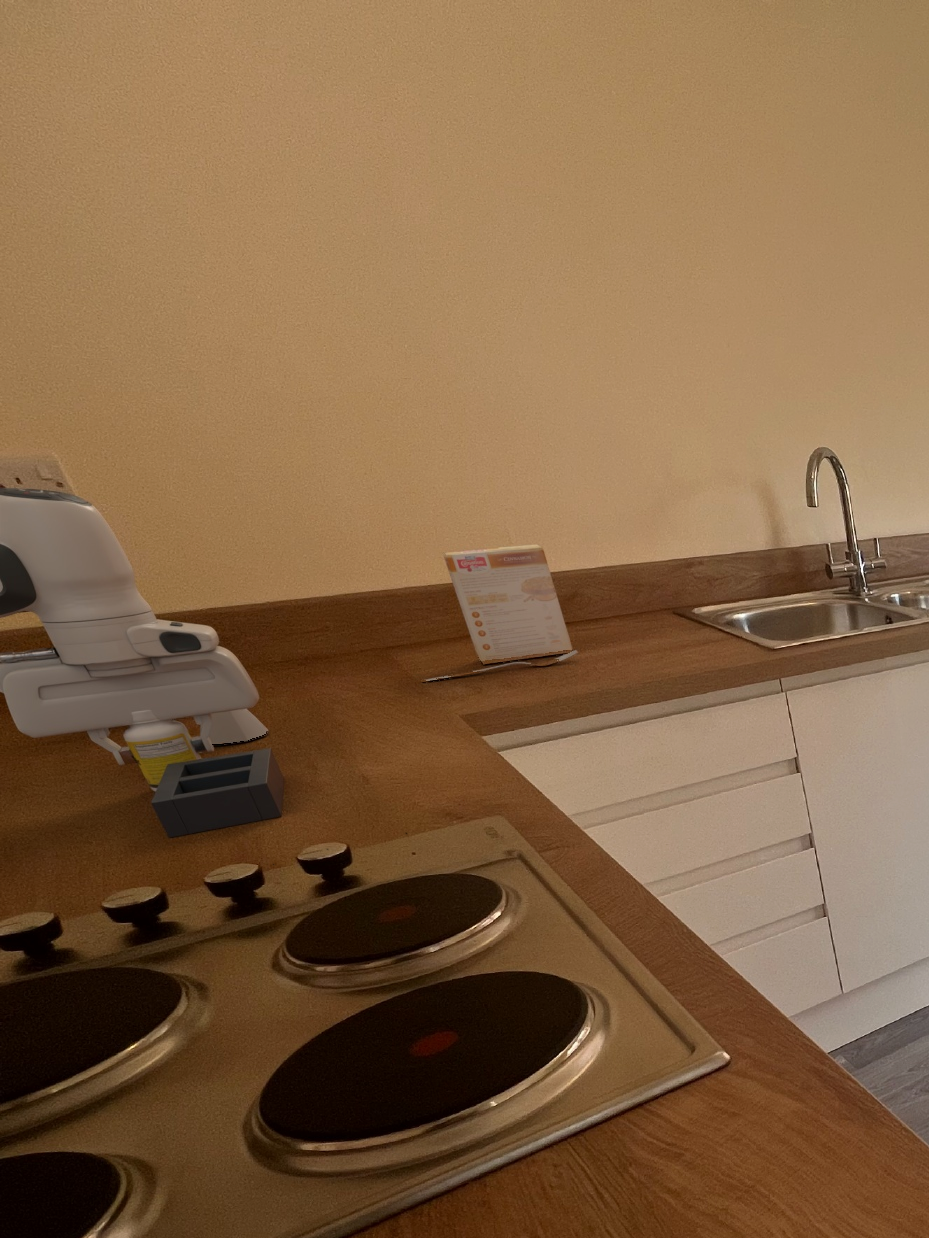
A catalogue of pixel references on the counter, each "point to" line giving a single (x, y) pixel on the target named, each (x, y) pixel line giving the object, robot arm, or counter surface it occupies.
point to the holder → (219, 792)
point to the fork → (516, 663)
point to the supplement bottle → (158, 745)
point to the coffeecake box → (508, 601)
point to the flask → (234, 727)
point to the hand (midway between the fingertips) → (168, 757)
